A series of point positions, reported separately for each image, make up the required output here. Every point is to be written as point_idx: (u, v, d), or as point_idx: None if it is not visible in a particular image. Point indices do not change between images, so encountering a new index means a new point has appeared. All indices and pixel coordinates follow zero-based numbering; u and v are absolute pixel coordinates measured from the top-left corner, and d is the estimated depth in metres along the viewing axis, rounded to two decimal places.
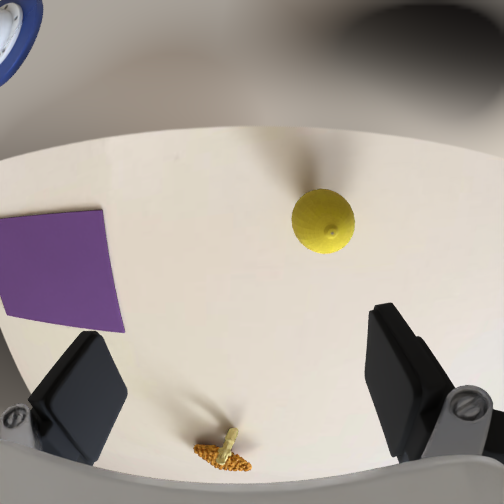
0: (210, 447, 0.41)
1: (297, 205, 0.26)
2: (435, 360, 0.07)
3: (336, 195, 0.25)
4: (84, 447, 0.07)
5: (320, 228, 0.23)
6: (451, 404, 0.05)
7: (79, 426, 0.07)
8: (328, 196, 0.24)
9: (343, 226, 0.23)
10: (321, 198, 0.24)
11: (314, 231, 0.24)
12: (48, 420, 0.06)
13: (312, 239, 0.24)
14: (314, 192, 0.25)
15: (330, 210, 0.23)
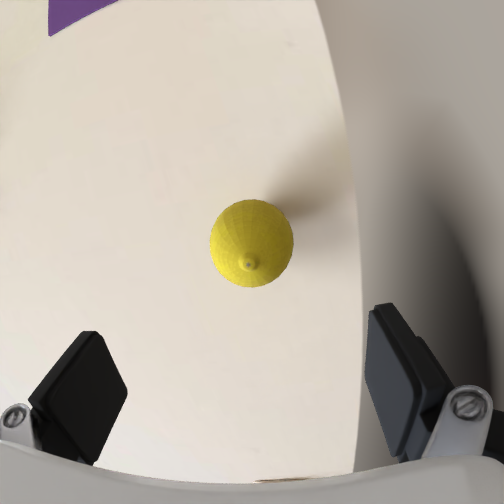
0: None
1: (265, 205, 0.19)
2: (435, 360, 0.07)
3: (291, 253, 0.19)
4: (84, 447, 0.07)
5: (249, 246, 0.17)
6: (451, 404, 0.05)
7: (79, 426, 0.07)
8: (290, 244, 0.19)
9: (259, 276, 0.18)
10: (285, 236, 0.18)
11: (243, 239, 0.17)
12: (48, 420, 0.06)
13: (230, 238, 0.17)
14: (288, 223, 0.19)
15: (276, 253, 0.17)
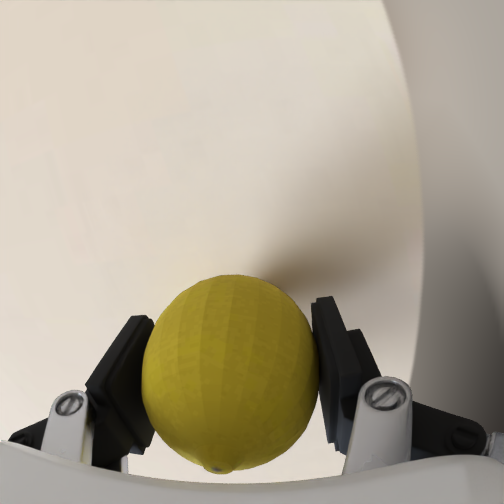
0: None
1: (261, 303, 0.08)
2: (368, 352, 0.08)
3: None
4: (139, 432, 0.08)
5: (218, 434, 0.06)
6: (369, 393, 0.06)
7: (135, 410, 0.08)
8: (315, 395, 0.07)
9: None
10: (308, 388, 0.07)
11: (201, 416, 0.06)
12: (106, 405, 0.07)
13: (171, 407, 0.06)
14: (311, 340, 0.08)
15: (284, 435, 0.06)
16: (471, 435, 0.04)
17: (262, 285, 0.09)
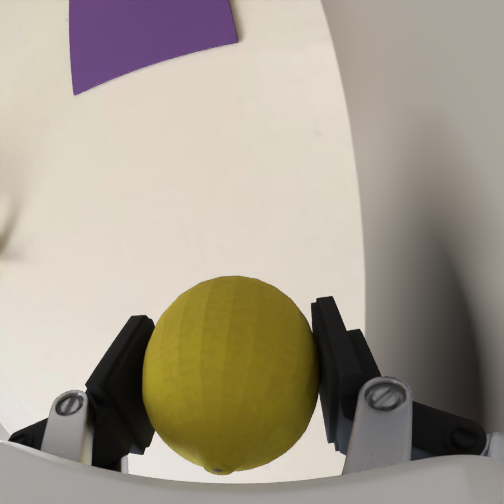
0: None
1: (262, 304, 0.08)
2: (369, 352, 0.08)
3: None
4: (139, 432, 0.08)
5: (219, 435, 0.06)
6: (369, 393, 0.06)
7: (135, 410, 0.08)
8: (315, 396, 0.07)
9: (245, 469, 0.07)
10: (308, 389, 0.07)
11: (201, 417, 0.06)
12: (106, 405, 0.07)
13: (172, 408, 0.06)
14: (311, 342, 0.08)
15: (284, 436, 0.06)
16: (471, 435, 0.04)
17: (262, 286, 0.09)
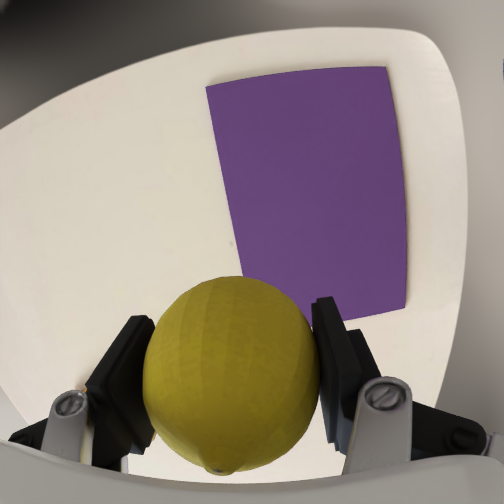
0: None
1: (262, 305, 0.08)
2: (368, 352, 0.08)
3: None
4: (139, 432, 0.08)
5: (219, 436, 0.06)
6: (369, 393, 0.06)
7: (135, 410, 0.08)
8: (316, 397, 0.07)
9: (245, 470, 0.06)
10: (308, 389, 0.07)
11: (202, 418, 0.06)
12: (106, 405, 0.07)
13: (173, 409, 0.06)
14: (312, 342, 0.08)
15: (285, 436, 0.06)
16: (471, 435, 0.04)
17: (263, 287, 0.09)
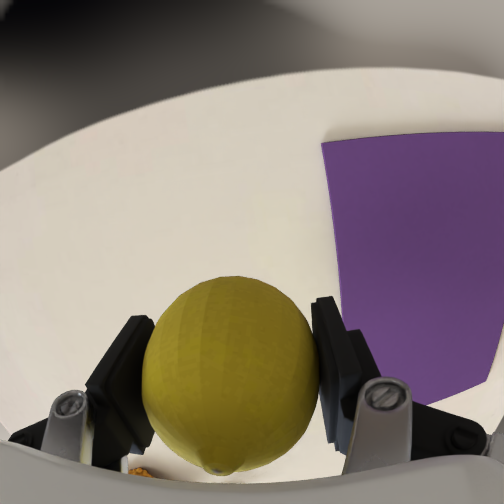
0: None
1: (261, 305, 0.08)
2: (368, 352, 0.08)
3: None
4: (139, 432, 0.08)
5: (218, 436, 0.06)
6: (369, 393, 0.06)
7: (135, 410, 0.08)
8: (315, 397, 0.07)
9: (245, 470, 0.06)
10: (308, 390, 0.07)
11: (201, 418, 0.06)
12: (106, 405, 0.07)
13: (172, 409, 0.06)
14: (311, 342, 0.08)
15: (284, 437, 0.06)
16: (471, 435, 0.04)
17: (262, 287, 0.09)
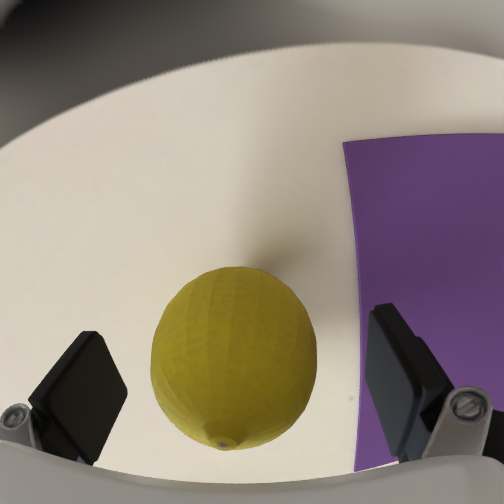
0: None
1: (262, 291, 0.09)
2: (435, 360, 0.07)
3: None
4: (84, 447, 0.07)
5: (224, 410, 0.07)
6: (451, 404, 0.05)
7: (79, 426, 0.07)
8: (313, 377, 0.08)
9: (247, 447, 0.07)
10: (306, 368, 0.08)
11: (208, 393, 0.07)
12: (48, 420, 0.06)
13: (180, 386, 0.07)
14: (308, 326, 0.09)
15: (284, 412, 0.07)
16: None
17: (263, 275, 0.10)
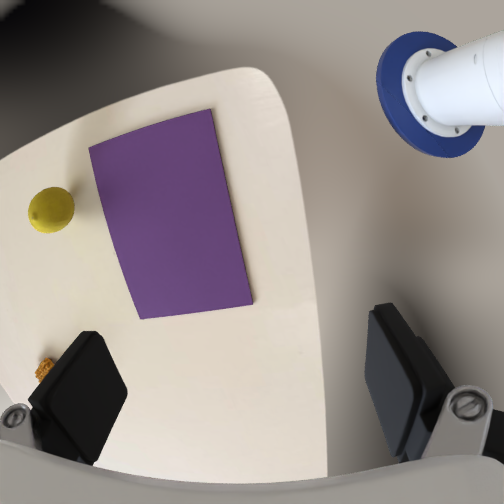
0: None
1: (52, 189, 0.30)
2: (435, 360, 0.07)
3: (62, 213, 0.30)
4: (84, 447, 0.07)
5: (34, 209, 0.28)
6: (451, 404, 0.05)
7: (79, 426, 0.07)
8: (57, 208, 0.29)
9: (40, 224, 0.28)
10: (53, 204, 0.29)
11: (32, 206, 0.28)
12: (48, 420, 0.06)
13: (30, 206, 0.28)
14: (61, 198, 0.30)
15: (45, 212, 0.28)
16: None
17: (58, 187, 0.31)
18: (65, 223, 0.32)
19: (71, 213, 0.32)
